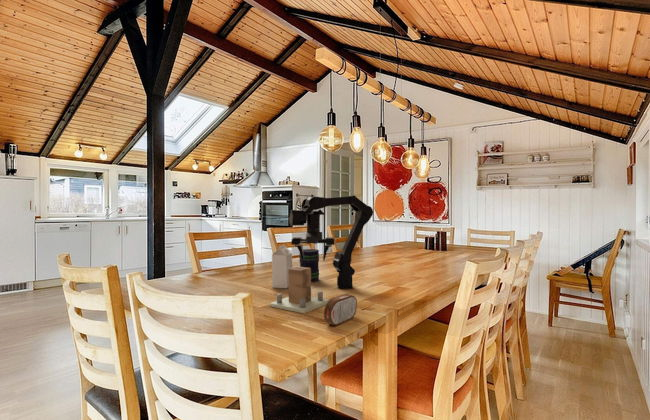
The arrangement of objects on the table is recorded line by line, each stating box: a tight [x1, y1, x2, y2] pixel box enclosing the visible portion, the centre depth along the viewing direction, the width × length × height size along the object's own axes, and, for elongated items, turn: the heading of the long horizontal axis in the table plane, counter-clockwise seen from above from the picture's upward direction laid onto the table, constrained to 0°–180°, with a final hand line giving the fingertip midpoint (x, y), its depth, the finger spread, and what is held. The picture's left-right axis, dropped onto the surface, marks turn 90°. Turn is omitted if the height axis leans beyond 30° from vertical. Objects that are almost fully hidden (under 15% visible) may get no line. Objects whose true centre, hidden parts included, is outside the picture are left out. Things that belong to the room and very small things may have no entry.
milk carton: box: [271, 244, 293, 289], centre depth 165 cm, size 7×7×19 cm
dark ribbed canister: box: [298, 248, 320, 283], centre depth 179 cm, size 10×10×15 cm
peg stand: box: [269, 291, 330, 314], centre depth 136 cm, size 16×16×4 cm
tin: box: [323, 293, 358, 326], centre depth 116 cm, size 15×3×8 cm, turn 141°
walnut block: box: [288, 266, 312, 304], centre depth 136 cm, size 6×6×12 cm
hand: (313, 260), depth 158 cm, fingers open, 9 cm apart
